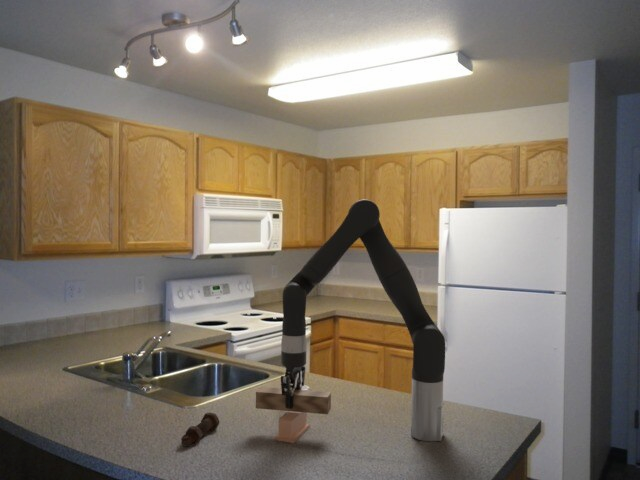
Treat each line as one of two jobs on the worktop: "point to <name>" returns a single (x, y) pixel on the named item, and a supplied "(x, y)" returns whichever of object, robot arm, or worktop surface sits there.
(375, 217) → the robot arm
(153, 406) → the worktop surface
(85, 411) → the worktop surface
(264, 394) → the walnut bar
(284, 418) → the ridge
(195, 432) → the bolt
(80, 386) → the worktop surface
